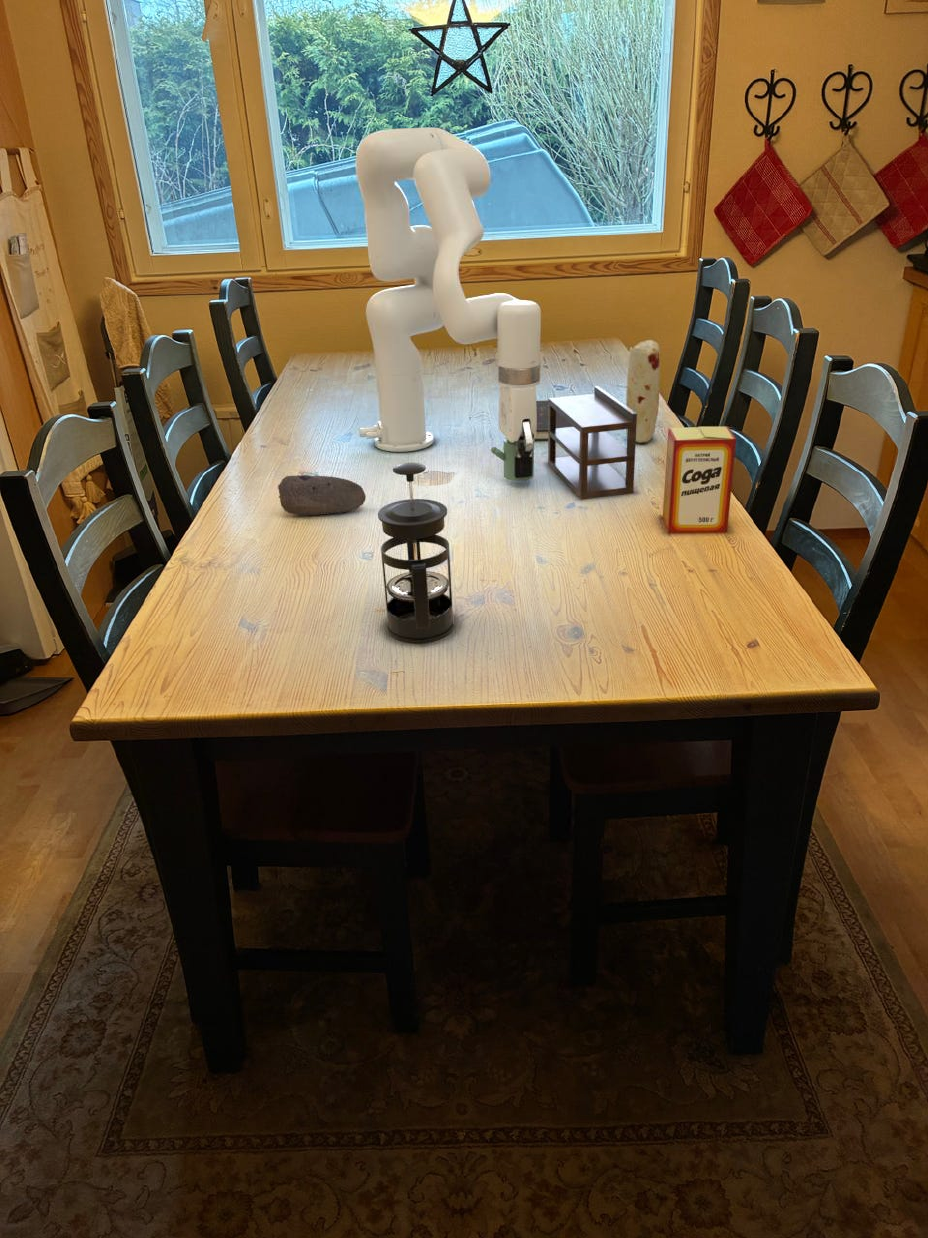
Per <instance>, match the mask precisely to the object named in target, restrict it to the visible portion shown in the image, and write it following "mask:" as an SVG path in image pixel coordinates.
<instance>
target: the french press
mask: <svg viewBox="0 0 928 1238" xmlns="http://www.w3.org/2000/svg"><path fill="white" fill-rule="evenodd" d="M426 469H427V467H426V465H425V464H422V463H419V462H404V463H399V464H397V465H395V466H394V467H393V468H392V472H393V473H395V474H396V475H402V476H405V478H406V482H408V488H409V498H408V499H402V500H397V501H394V502H391V503H388V504H385V505H384V506H382V507H381V508H380V509H379V510H378V511H377V518H378V520H379V521H380V522H381V527H382V532H383V533H384V534H385V535H387V536H388V537H391V538H389V539H387V540H385V542H383V543H382V545H381V547H380V553H381V565H382V574H383V586H384V600H385V608H386V619H387V622H386V627H385V628H386V632H387V634H388V635H389V636H390V637H392V638H393V639H395V640H397V641H400V642H404V643H408V644H409V643H411V644H424V643H430V642H431V643H432V642H434V641H438V640H441V639H444V638H445V637H448V636H449V635H450V634H451V633H452V632H453V631H454V629H455V627H456V620H455V618H454V615H453V613H454V611H453V591H452V576H451V575H452V574H451V573H452V572H451V555H450V543H449V541H448V540H447V539H446V538H445V537H443V536H441V535H439V533H441V532H442V531H443V530H444V529H445V517H447V515H448V508H447V506H446V505H445V504H444V503H442V502H439V501H436V500H432V499H427V498H426V499H425V498H414V494H413V492H414V491H413V482H414V481H415V477H414V475H418V474H421V473H423V472H425V471H426ZM421 543H428V544H434V545H438V546H441V547H442V548H444V549H445V550H444V551H442V552H441V553H439V554H437V555H433V556H430V557H427V558H422V556H421V555H422V553H421ZM405 544H406V548H407V549H406V551H407V559H401V558H396V557H392V556H390V555H388V554H386V553H387V552H388V551H389V550H391V549H392V548H395V547H397V546H401V545H405ZM444 562H446V563H447V577H446V576H445V575H443V574H442V573H439V572H435V571H428V570H427V569H430V568H434V567H436V566H439V565H442V564H443V563H444ZM386 565H387V566H388V567H391V568H394V569H398V570H405V571H408V572H404V573H401V574H398V575H396V576H393V577H391V578H390V579H389V580H388V581H387V578H386V567H385V566H386ZM447 591H448V595H447V594H445V593H446V592H447ZM388 594H389V596H390V597H392V598H391V599H389V600H388ZM413 614H414V619H409V618H408V619H407V618H404V617H406V616H407V617H408V616H410V615H413ZM430 614H433V615H437V616H434V617H431V616H430Z"/></svg>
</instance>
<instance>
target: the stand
mask: <svg viewBox="0 0 928 1238" xmlns="http://www.w3.org/2000/svg"><path fill="white" fill-rule="evenodd" d="M593 389H594V390H593V393H587V394H576V395H566V396H557V397H549V398H547V400H548V404H549V405H548V441H547V461H548V462H547V465H548V466H549V467H550V468H551V469H552V470H553V471H554V473H556V474H557V476H558V477H559V478H560V479H561V480H562V481H563V482H564V483H565V484H566V485H567V486H568V487H569V488H570V490H571V491H572V492H573V493H574V494H575V495H576V496H577V497H578V498H579V499H580V500H585V499H595V498H602V497H610V496H611V497H612V496H619V495H627V494H634V488H635V487H634V485H635V469H636V468H635V467H636V465H635V464H636V463H635V462H636V446H637V445H636V443H637V442H636V426H637V422H636V421H637V413H635V412H634V411H633V410H631V409H630V408H628V407H627V406H626V404H624V403H623V402H622V401H620V400H619V399H617V398H616V397H615V396H613V395H612V394H610V393H609V392H607V391H606V390H605V389H604V388H602V387H601V386H599V385H594V388H593ZM556 411H557V412H558V413H559V414H560V415H561V416H562V417H563V418H565V419H566V420H567V421H568V422H569V423H570V424H571V425H573V426H574V427H566V428H557V429H556ZM626 429H628V434H627V435H626V446H624V445H623V444H622V443H621V442H619V441H618V440H617V439H616V438H615V437H614V436H612V435H611V433H609V432H612V431H621V430H626ZM557 445H558V446H559V447H560V448H562V449H563V450H564V451H565V452H566V454H568V455H569V456H568V455H567V456H558V457H557V455H556V454H557ZM617 463H625V477H624V476H622V475H621V474H620V473H619V472H618V471H617V470H616V469H615V468H614V467H613V466H611V465H610V464H617Z"/></svg>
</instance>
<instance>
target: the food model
mask: <svg viewBox="0 0 928 1238" xmlns="http://www.w3.org/2000/svg"><path fill="white" fill-rule="evenodd" d="M627 363H628V367H627V380H626V394H625V395H626V396H625V397H626V399H625V401H626V402H625V403H626V404H625V405H626V406H627V407H628V408H630V409H631V410H633V411H634V412H635V413H637V421H636V422H637V426H636V443H638V444H642V443H647V442H649V441H650V440H651V439H653V436H654V434H655V432H656V424H657V419H658V414H659V408H660V407H659V406H660V405H659V404H660V384H661V382H660V381H661V351H660V345H659V344H658V342H656V341H654V340H653V339H646V340H644V341H640V342H639V343H638V344H636V345H634V347H632V346H631V347H630V348H629V353H628V362H627ZM627 434H628V429H625V436H627Z"/></svg>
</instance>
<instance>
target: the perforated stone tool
mask: <svg viewBox="0 0 928 1238" xmlns="http://www.w3.org/2000/svg"><path fill="white" fill-rule="evenodd" d="M277 490H278V494H279V496H278V498H279V502H280V506H281V507H282V509H283V511H285V512H287V513H288V514H293V515H303V516H312V515H331V514H341V513H342V514H343V513H347V512H352V511H355V510H357V509H359V508H360V507H362V506H363V505H364V503H365V502H366V497H367V495H366V493H365V491H364V488H363V487H362V486H361V485H360V484H359V483H356V482H354V481H352V480H349V479H345V478H342V477H336V476H328V475H317V474H316V475H307V474H303V475H302V474H301V475H300V474H299V475H298V474H297V475H286V476H285V477H284V478H282V479H281V481H280V483H279V484H278V485H277Z"/></svg>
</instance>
